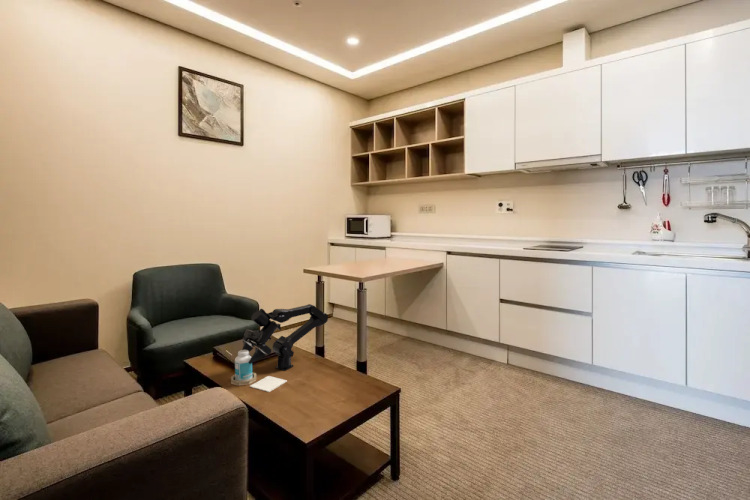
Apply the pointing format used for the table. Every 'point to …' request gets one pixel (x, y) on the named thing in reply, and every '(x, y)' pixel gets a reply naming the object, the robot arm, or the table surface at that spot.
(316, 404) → the table surface
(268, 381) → the white square cloth
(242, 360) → the pill bottle
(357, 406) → the table surface
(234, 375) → the ring holder
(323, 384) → the table surface
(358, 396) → the table surface
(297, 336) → the robot arm
